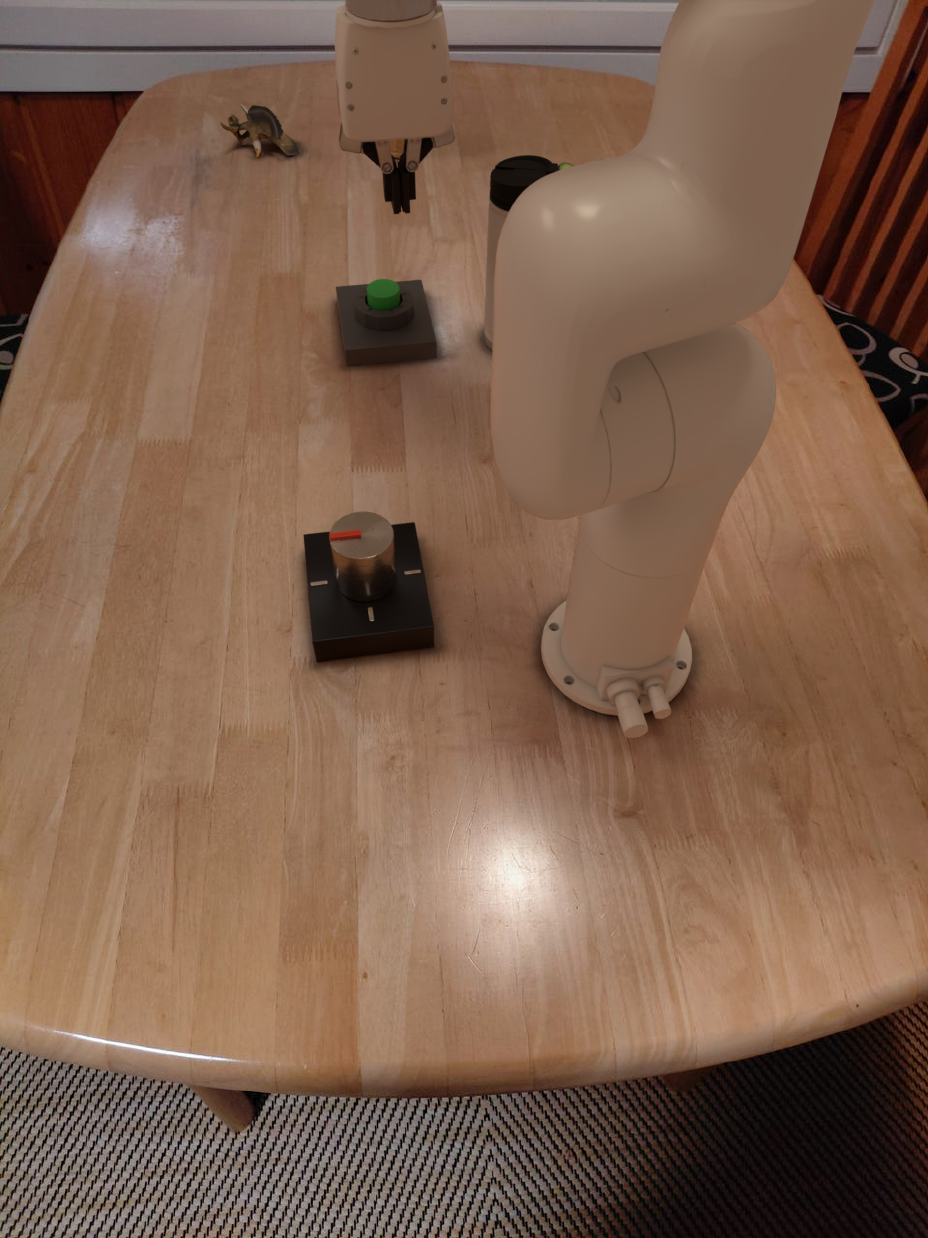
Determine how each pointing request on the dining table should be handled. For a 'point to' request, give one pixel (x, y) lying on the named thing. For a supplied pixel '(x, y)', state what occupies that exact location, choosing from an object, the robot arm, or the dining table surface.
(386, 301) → the button
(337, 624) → the dial panel
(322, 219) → the dining table surface
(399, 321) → the block
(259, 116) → the brown horned dinosaur figurine
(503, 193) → the travel mug
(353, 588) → the program dial
